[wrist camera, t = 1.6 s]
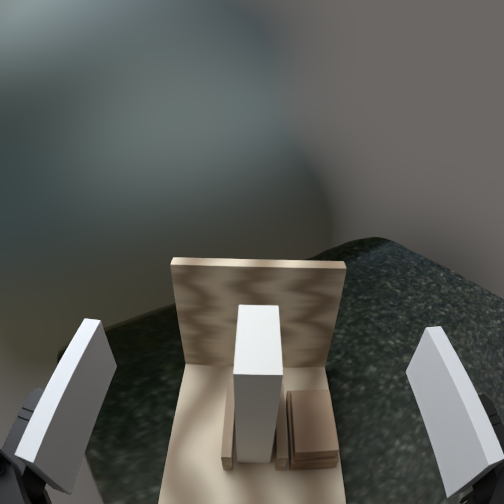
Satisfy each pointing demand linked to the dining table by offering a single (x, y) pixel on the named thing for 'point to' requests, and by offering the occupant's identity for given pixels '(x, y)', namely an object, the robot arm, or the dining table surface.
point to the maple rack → (222, 386)
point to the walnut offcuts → (311, 430)
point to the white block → (257, 381)
